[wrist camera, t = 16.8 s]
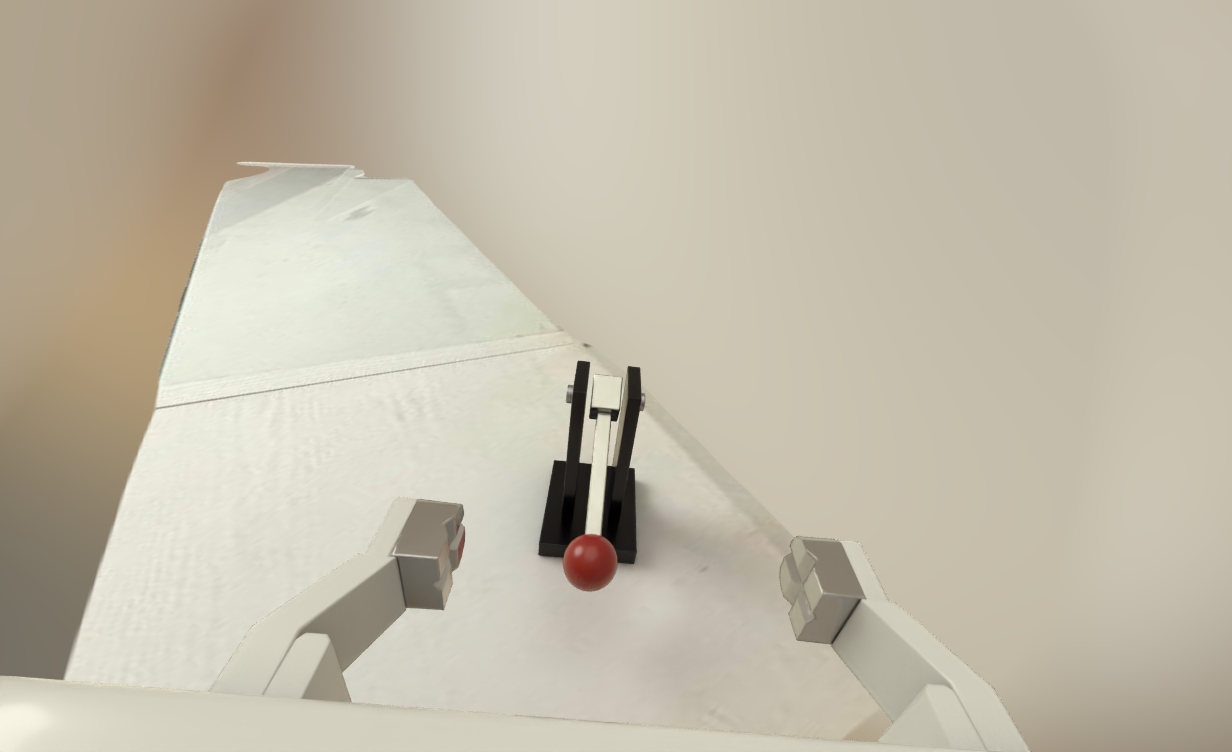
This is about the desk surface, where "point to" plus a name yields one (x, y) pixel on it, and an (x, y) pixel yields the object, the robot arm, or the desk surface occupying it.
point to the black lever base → (574, 478)
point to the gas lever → (596, 496)
